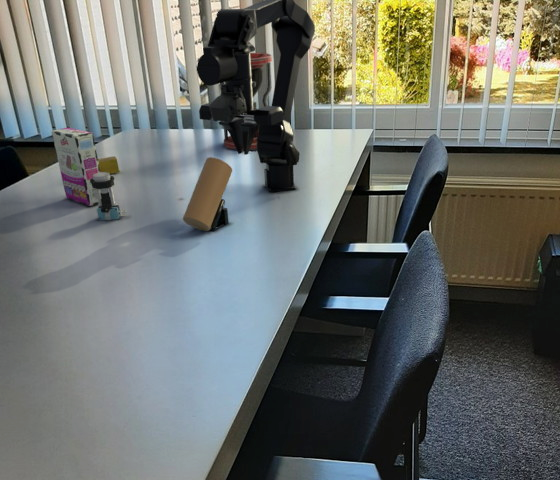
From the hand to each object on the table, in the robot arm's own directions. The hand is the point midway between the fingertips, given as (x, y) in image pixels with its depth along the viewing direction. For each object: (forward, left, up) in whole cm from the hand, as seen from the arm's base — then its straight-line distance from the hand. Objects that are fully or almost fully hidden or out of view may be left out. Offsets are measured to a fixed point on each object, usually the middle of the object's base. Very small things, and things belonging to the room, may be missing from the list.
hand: (243, 154), depth 139 cm
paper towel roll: (+10, +10, -12) cm, 19 cm away
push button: (+31, -3, -12) cm, 33 cm away
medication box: (+34, -40, -12) cm, 54 cm away
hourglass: (-13, -58, -12) cm, 61 cm away
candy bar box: (+37, -19, -12) cm, 43 cm away
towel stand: (+10, +10, -12) cm, 19 cm away
